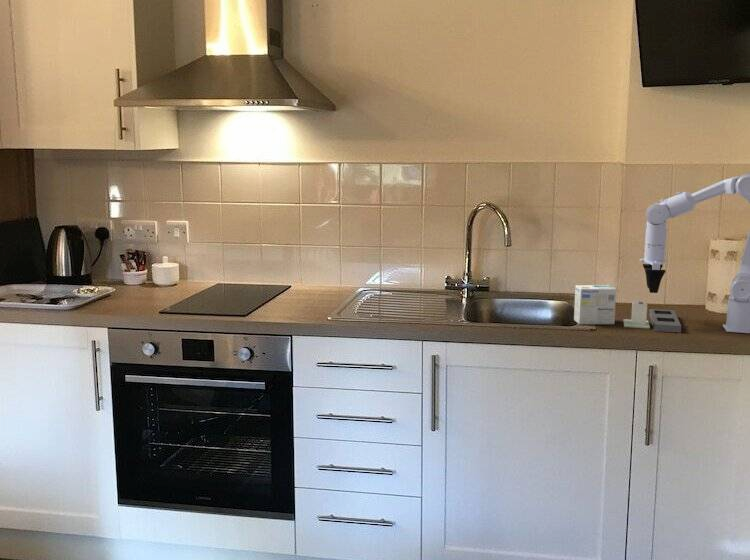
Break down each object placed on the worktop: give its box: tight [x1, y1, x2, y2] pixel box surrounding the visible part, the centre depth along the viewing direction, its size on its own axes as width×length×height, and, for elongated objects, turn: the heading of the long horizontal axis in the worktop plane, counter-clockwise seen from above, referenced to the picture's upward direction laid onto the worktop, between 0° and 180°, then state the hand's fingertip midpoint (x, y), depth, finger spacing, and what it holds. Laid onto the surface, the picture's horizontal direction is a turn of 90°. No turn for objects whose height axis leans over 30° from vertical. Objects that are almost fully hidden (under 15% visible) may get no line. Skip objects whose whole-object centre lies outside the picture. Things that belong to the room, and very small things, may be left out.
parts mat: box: [622, 318, 651, 329], centre depth 233 cm, size 7×8×1 cm
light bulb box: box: [573, 284, 617, 325], centre depth 235 cm, size 11×7×11 cm, turn 92°
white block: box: [630, 300, 648, 325], centre depth 232 cm, size 4×4×6 cm
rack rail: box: [648, 308, 682, 334], centre depth 234 cm, size 7×21×2 cm, turn 165°
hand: (652, 290), depth 236 cm, fingers open, 7 cm apart
